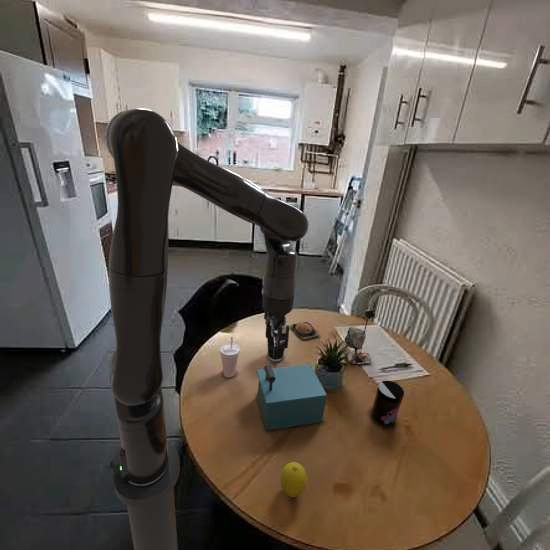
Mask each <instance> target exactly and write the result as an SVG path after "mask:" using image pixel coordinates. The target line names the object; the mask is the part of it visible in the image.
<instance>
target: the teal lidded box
mask: <svg viewBox="0 0 550 550" xmlns="http://www.w3.org/2000/svg"><path fill="white" fill-rule="evenodd" d="M257 385H258V386H257V398H258V402H259V405H260V409H261V413H262V417H263V420H264V425H265V428H266V429H265V430H266V431H271V430H278V429H285V428H290V427H291V428H292V427H297V426H304V425H311V424H316V423H322V421H323V417H324V412H325V408H326V402H327V397H324V398H317V399H310V400H303V401H295V402H288V403H281V404H273V405H266V402H265V399H264V396H263V392H262V389H261V385H260V382H259V381H258V383H257Z"/></svg>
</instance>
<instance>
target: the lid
mask: <svg viewBox="0 0 550 550" xmlns="http://www.w3.org/2000/svg"><path fill="white" fill-rule="evenodd" d="M256 375H257V378H258V383H259V382H260V385H261V389H262V392H263V396H264V399H265V402H266V405H273V404H281V403H288V402H295V401H303V400H310V399H317V398H324V397H326V398H327V397H328V394H327V392H326V390H325V389H324V387H323V385H322V383H321V381H320V380H319V377H318V376H317V374H316V372H315V370H314V368H313V366H312V365H311V363H308V364H299V365H298V364H297V365H289V366H288V365H287V366H280V367H272V365H271V364H269V363H266V364H264V366H263V368H260V369H256Z"/></svg>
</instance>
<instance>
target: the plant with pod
mask: <svg viewBox="0 0 550 550" xmlns="http://www.w3.org/2000/svg"><path fill="white" fill-rule="evenodd" d="M364 314H365V318H366V321H365V325H364V330H363V329H361V328H358V327H355V326H351V324H349V326H350V327H348V329H347V332H346V336H345V337H344V343H345V346H344V347H343V348H342V349H341V351H342V350H343V352H344V351H345V350H346V349H347V348H350V349H354V350H352V351H347V352H346V359H347V360H348V361H347V362H348V363H351V364H354V365H356V364H357V365H361V364H367V363H368V364H371V363H372V358H371V356H370V354H369V353H368V352H365V351H363V350H362V349H363V347H364V344H365V341H366V338H367V337H366V336H367V335H366V330H367V326H368V325H367V324H368V323H369V322H368V321H369V320H370V319H372V318H373V319H374V320H376V317H375V316H376V313H375V310H374V308H369V309H366V310H365V311H364Z"/></svg>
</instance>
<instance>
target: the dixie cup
mask: <svg viewBox="0 0 550 550" xmlns="http://www.w3.org/2000/svg"><path fill="white" fill-rule="evenodd" d="M275 333H277V331H275ZM266 341H267V343H266V344H267V356H268V359H269V360H270V361H272V362H280V361H281V360H282V359H283V357H284V355H285V349H286V348H283V356H282V358H278V359H274V357H273V352H274V337H273V338H268V339H267V338H266ZM281 341H282V340H281Z"/></svg>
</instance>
